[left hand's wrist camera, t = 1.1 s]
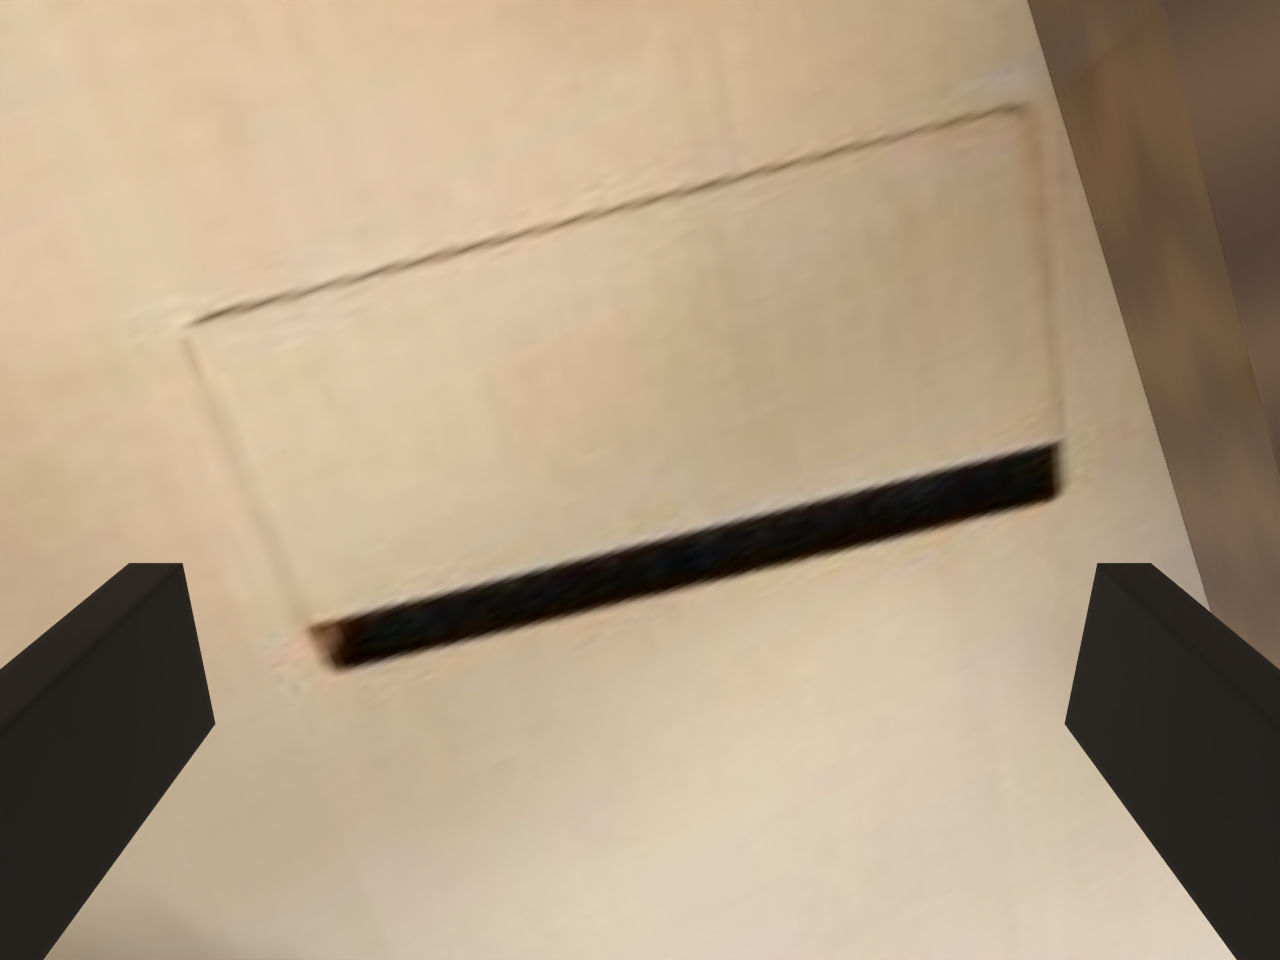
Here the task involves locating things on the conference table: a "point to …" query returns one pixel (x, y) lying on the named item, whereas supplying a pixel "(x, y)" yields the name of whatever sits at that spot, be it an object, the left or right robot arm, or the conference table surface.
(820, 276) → the conference table surface
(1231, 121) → the beam
